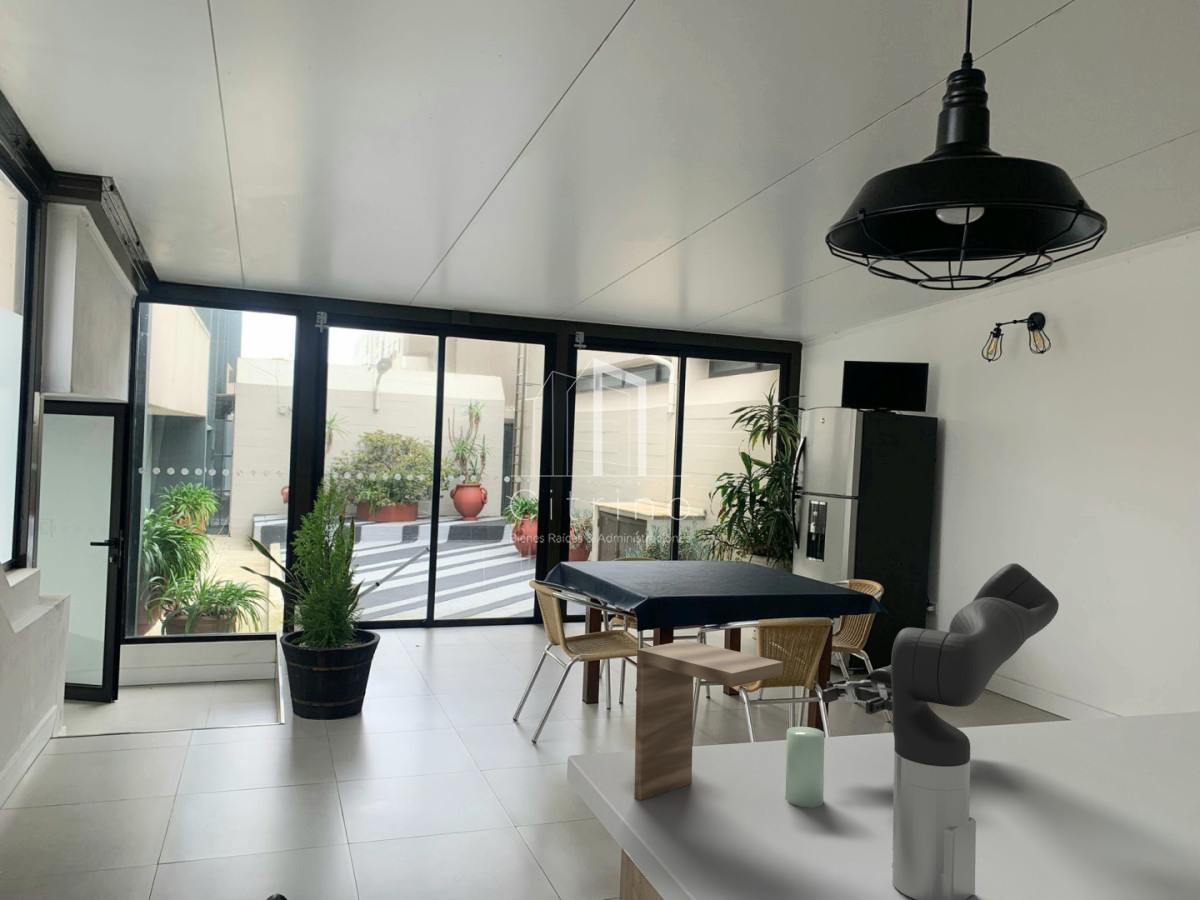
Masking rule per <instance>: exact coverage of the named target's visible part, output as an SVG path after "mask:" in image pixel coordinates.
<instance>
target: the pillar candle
mask: <svg viewBox="0 0 1200 900" xmlns="http://www.w3.org/2000/svg"><path fill="white" fill-rule="evenodd" d="M785 744H786V749H785V754H786V755H785V756H786V757H785V800H787V801H788V804H791V805H792V806H796V805H797V806H796V807H799V808H800V807H802V808H817V807H820V806H823V805H824V795H825V794H824V786H825V784H824V783H825V782H824V780H825V779H824V778H825V774H824V773H825V732H824V731H822V730H821V729H819V728H815V727H810V726H792V727H789V728H787V729H786V741H785ZM787 801H786V802H787Z"/></svg>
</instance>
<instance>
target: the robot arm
mask: <svg viewBox="0 0 1200 900" xmlns="http://www.w3.org/2000/svg"><path fill="white" fill-rule="evenodd" d="M1059 604H1060V603H1059V599H1058V598H1057V597H1056V596H1055V594H1054V593H1053V592H1052V591H1050V589H1049V588H1047V587H1046V585H1044V584H1043V583H1042V582H1041V581H1039V580H1038V578H1036V577H1035V576H1034V575H1033V574H1032V573H1031V572H1030V571H1029V570H1027V569H1026V568H1025V567H1024V566H1022V565H1020V564H1019V563H1015V562H1014V563H1008V564H1006V565H1005V566H1003V567H1001V568H1000V569H999V570H997V571H996V572H995V573H994V574H993V575H992V576H991V577H990V578H989V579H988V580H987V581H986V582H985V583H984V584H983V585H982V586H981V588H980V589H979V591H978V592H977V594H976V595H975V596H974V598H973V600H972V601H971V602H969V603H968V604H966V605H965V606H964V607H962V608H961V609H959V610H958V612H957V613H955V614H954V616H953V618H952V619H951V622H950V624H949V628H948V631H943V630H937V629H928V628H927V629H926V628H920V627H919V628H918V627H905V628H902V629H901V630H900V631H899V632H898V633H897V635H896V636H895V638H894V642H893V645H892V650H891V661H890V665H888V666H883V667H880V668H876V669H874V670H872V671H870V673H868V675H867V676H866V678H865V679H862V680H860V681H858V680H854V681H852V680H851V679H850V678H851V677H850V678H849V677H847V676H846V677H842V678H837V679H834V680H829V681H826V688H825V689H823V690H822V691H821V692H822V693H821V699H822V702H823V703H826V704H829V703H831V702H832V703H833V702H835V701H838V700H840V701H841V700H846V701H847V702H848V703H863V704H865V714H867V715H870V716H871V715H874V714H877V713H879V712H881V713H887V712H891V713H892V730H893V731H892V732H893V737H894V747H893V748H894V750H893V751H894V753H893V799H892V801H893V802H892V803H893V806H892V813H893V815H892V818H893V819H892V863H891V866H892V867H891V868H892V884H893V886H894V887H895V889H896V890H898V891H899V892H901V893H902V894H903V895H905V896H907V897H909V898H912V899H914V900H967V899H969V898H970V897H972V896H973V895H975V894H976V849H977V848H976V845H977V844H976V841H977V834H976V833H977V821H976V819H975V818H973V817H970V793H971V792H970V784H971V783H970V781H971V779H970V778H971V776H970V775H971V773H970V772H971V742H970V739H969V737H968V736H967V734H966V733H964V732H963V731H962V730H960V729H958V728H957V727H956V726H953V725H952V724H950V723H949V722H947V721H946V720H944V719H943V718H941V716H939V715H938V714H937V713H936V712H934V710H933V709H932V708H931V706H930V705H929V703H932V704H937V705H942V706H946V707H947V706H949V707H954V708H957V707H958V708H960V707H963V708H964V707H968V706H970V705H972V704H974V703H975V702H976V701H977V699H979V698H980V696H981V694H982V693H983V691H984V690H985V688H986V687H987V685H988V683H989V682H990V680H991V679H992V677H993V676H994V674H995V673H996V672H997V670H998V669H999V668H1000V667H1001V666H1002V665H1003V664H1004V663H1006V661H1008V660H1009V659H1011V657H1013V656H1014V654H1016V653H1017V651H1019V649H1020V648H1021V647H1022V646H1023V645H1024V644H1025V643H1026V641H1027V640H1028V639H1030V638H1032V637H1033V636H1034V635H1036V634H1038V633H1039V632H1040V631H1042V630H1044V629H1045V628H1046V627H1047V626H1048V625H1049V624H1050V623H1051V622H1052V621H1053V620H1054V618H1055V616H1056V615H1057V613H1058V611H1059ZM852 692H854V696H852Z"/></svg>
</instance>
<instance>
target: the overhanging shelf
mask: <svg viewBox="0 0 1200 900" xmlns="http://www.w3.org/2000/svg"><path fill="white" fill-rule="evenodd" d="M783 673H784V662H783V661H780V660H776V659H771V658H767V657H763V656H758V655H754V654H749V653H746V652H741V651H736V650H733V649H728V648H724V647H720V646H719V647H718V646H714V645H710V644H706V643H701V642H697V641H692V640H688V639H687V640H682V641H675V642H670V643H664V644H658V645H653V646H648V647H643V648H642V647H641V648H637V649H636V686H635V689H636V691H635V695H636V697H635V704H636V705H635V744H634V745H635V747H634V748H635V752H634V753H635V754H634V794H633V795H634V797H633V798H634V799H636V800H639V801H643V800H646V799H648V798H652V797H654V796H658V795H661V794H663V793H667V792H671V791H672V790H675V789H679V788H682V787H685V786H688V785H691V784H692V782H693V777H692V775H693V729H694V727H693V726H694V725H693V723H694V678H697V679H701V680H704V681H708V682H712V683H715V684H719V685H723V686H727V687H730V688H734V687H738V686H742V685H746V684H750V683H755V682H759V681H764V680H767V679H772V678H776V677H780V676H783V675H784V674H783Z"/></svg>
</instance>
